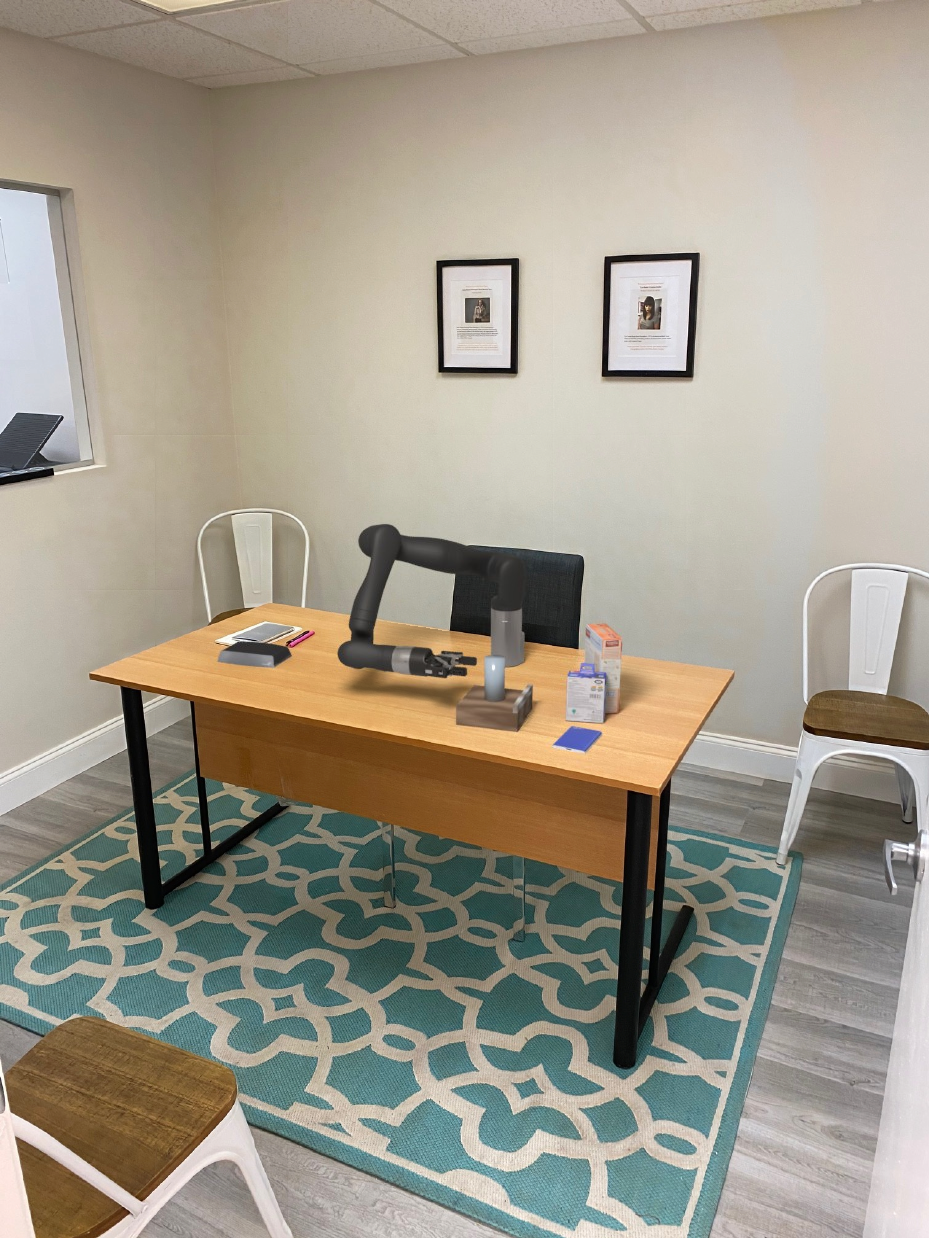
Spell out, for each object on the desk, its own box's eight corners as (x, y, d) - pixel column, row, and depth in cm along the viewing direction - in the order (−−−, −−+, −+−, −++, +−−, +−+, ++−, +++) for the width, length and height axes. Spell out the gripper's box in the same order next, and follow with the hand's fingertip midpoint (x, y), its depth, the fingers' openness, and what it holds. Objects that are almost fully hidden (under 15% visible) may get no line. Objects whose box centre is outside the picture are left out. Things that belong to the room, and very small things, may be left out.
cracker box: (619, 713, 244) (623, 637, 238) (597, 715, 243) (600, 638, 237) (603, 694, 257) (606, 621, 252) (582, 696, 257) (584, 623, 251)
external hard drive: (272, 670, 279) (271, 657, 278) (215, 663, 285) (214, 650, 284) (293, 656, 291) (292, 644, 290) (238, 650, 297) (237, 638, 296)
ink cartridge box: (605, 715, 243) (607, 663, 239) (604, 724, 238) (606, 670, 234) (567, 713, 245) (568, 660, 241) (565, 721, 240) (566, 667, 236)
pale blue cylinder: (487, 693, 244) (488, 653, 241) (506, 696, 243) (507, 655, 240) (481, 700, 240) (481, 660, 237) (501, 703, 238) (501, 662, 235)
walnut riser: (474, 702, 252) (474, 677, 250) (532, 708, 248) (532, 684, 246) (456, 724, 238) (455, 698, 236) (517, 731, 233) (517, 705, 231)
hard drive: (570, 725, 234) (552, 743, 224) (602, 731, 231) (584, 750, 220) (570, 731, 235) (552, 749, 224) (601, 737, 231) (584, 756, 221)
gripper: (402, 655, 238) (463, 661, 233) (421, 639, 251) (479, 644, 246) (403, 683, 240) (463, 689, 235) (421, 665, 253) (479, 671, 248)
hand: (471, 666), depth 241 cm, fingers open, 8 cm apart
